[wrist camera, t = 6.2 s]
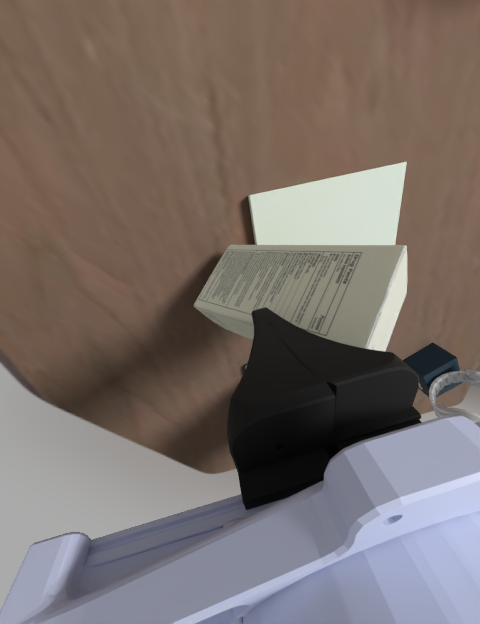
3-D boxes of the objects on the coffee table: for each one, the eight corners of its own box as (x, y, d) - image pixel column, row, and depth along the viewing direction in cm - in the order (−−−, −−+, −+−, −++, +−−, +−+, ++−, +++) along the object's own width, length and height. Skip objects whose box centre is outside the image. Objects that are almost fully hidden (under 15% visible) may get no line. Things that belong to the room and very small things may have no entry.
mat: (380, 307, 25) (385, 310, 25) (269, 335, 25) (270, 339, 24) (398, 163, 19) (406, 161, 18) (247, 195, 18) (249, 195, 17)
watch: (389, 368, 30) (478, 447, 21) (445, 335, 29) (567, 402, 19) (400, 390, 33) (483, 470, 23) (451, 360, 32) (562, 431, 22)
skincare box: (223, 329, 20) (372, 394, 12) (189, 305, 17) (359, 371, 9) (256, 271, 21) (411, 293, 13) (231, 239, 18) (412, 242, 10)
